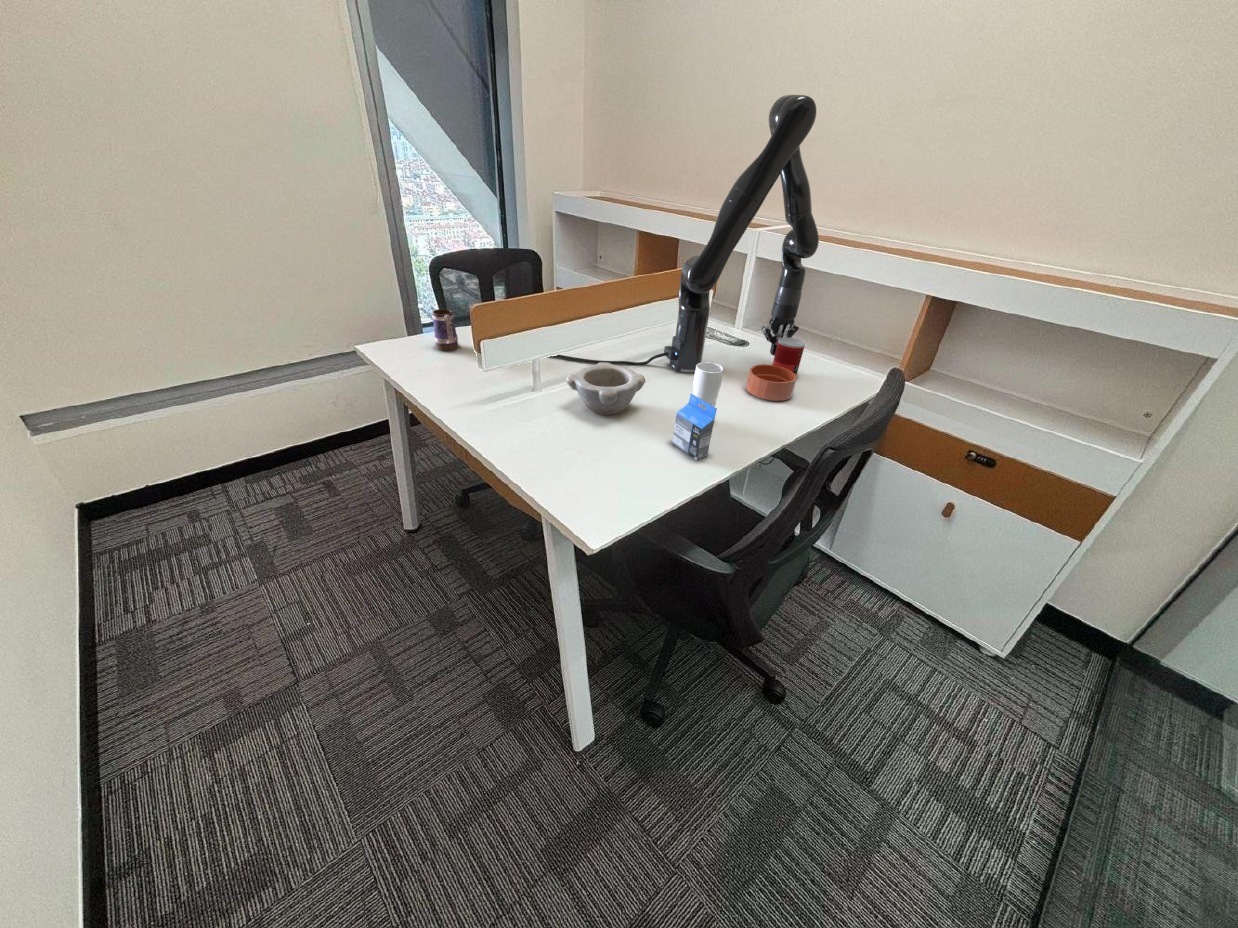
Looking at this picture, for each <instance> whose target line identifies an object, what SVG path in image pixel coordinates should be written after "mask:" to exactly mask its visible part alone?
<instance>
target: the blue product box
mask: <svg viewBox="0 0 1238 928" xmlns="http://www.w3.org/2000/svg"><path fill="white" fill-rule="evenodd" d="M688 399H689V400H688V403H687V404H686V405H684V406H683V407H682V408H681V409H679V410H678V411H676V413H675V419H674V427H673V435H672V442H671V443H672V445H675V446H676V447H677V448H678V449H680V450H682V451H683V452H684V453H686V454H688V455H689V456H690V457H692V459H694V460H696V461H698V460H701V459H704V458H706V457H708V456H709V450H710V445H711V439H712V436H713V435H712V434H713V428H714V424H715V420H716V414H717V410H718V408H716V406H715V407H713V406H711V405H710V404H708V403H706V402H705V401H703V400H701V399H700V398H698V397H696V396H694V395H693V393H690V395H689V398H688ZM698 404H700V405H702V404H703V406H704V407H705V408H706V409H707V410H705V409H703V408H701V407H700V406H698Z"/></svg>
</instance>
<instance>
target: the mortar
mask: <svg viewBox="0 0 1238 928" xmlns="http://www.w3.org/2000/svg"><path fill="white" fill-rule="evenodd" d="M565 382H566V384H567V386H568V387H569V388H570V389H571V390H573V391H576V392H577V394H578V395H579V398H580V400H581V401H582V403H583V404H584V406H585V407H586V408H587V409H588V411H591V412H592V413H595V414H598V415H605V416H610V415H616V414H619V413H621V412H623V411H624V410H625V409H626V408H627V407H628V406H629V405H630V404H631V402H632V401H633V398H634V397H635V396H636V393H638V392H639V391H640V390H641V389H643V387H644V385H645V383H646V378H645V376H644V375H643V374H642V373H637V372H636V371H634V370H632V369H631V368H628V367H626V366H623V365H619V364H610V363H605V362H601V363H595V364H592V365H588V366H585V367H583V368H581V369H579V370H577V371H575V373H569V375H567V376H566V378H565Z"/></svg>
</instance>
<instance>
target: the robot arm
mask: <svg viewBox="0 0 1238 928" xmlns="http://www.w3.org/2000/svg"><path fill="white" fill-rule="evenodd" d="M816 118H817V104H816V101H815V99H813V97H811V96H809V95H805V94H785V95H782V96H780V97H779V98H777V99H776V100H775V101H774V103H773V104H772V106H771V108H770V110H769V114H768V126H769V132H770V135H771V136H770V138H769V140H768V142H767V143H766V145H765V146H764V148H763V149H762V151H761V152H760V154H759V155H758V156H757V157H756V158H755V159H754V160H753V161H752V162H751V164H749V165H748V167H747V168H745V170H743V172H741V174H740V175H739V176H738V177H737V179H736V180H735V182H734V183H733V185H732V187H731V188H730V190H729V191H728V193H727V195H726V197H725V199H724V200H723V201H722V202H723V203H722V205H721V207H720V209H719V211H718V215H717V218H716V220H715V224H714V227H713V230H712V233H711V235H710V238H709V240H708V241H707V243H706V245H705V247H704V249H703V250H702V251H701V253H700V255H699V254H696V255H692V256H691V257H689V258H687V260H686V261H684V264H683V265H682V268H681V272H680V280H679V289H678V290H679V291H678V312H677V321H676V327H675V335H673V336H672V339H671V345H669V346H668V345H666V346H664V348H663V352H661V353H657V354H655V355H653V356H651V357H649V358H648V359H647V360H645V361H639V362H638V361H637V362H635V361H628V360H601V359H600V360H599V359H590V358H589V359H588V358H581V357H575V356H569V355H564V354H558V355H557V356H553V357H552V358H556V359H557V358H559V359H564V360H568V361H576V362H581V363H582V362H583V363H589V364H598V363H601V362H605V363H610V364H613V365H628V366H644V365H648V364H650V363H651V362H653V361H654V360H656V359H658V358H662V357H666V358H667V359H668V360H669V364H668V365H669V367H671V368H672V369H673V370H674V371H675V372H676V373H685V374H695V370H696V365H697V364H699V363H702V362H703V355H704V349H705V343H706V336H707V330H708V325H709V319H710V312H711V305H710V291H711V290H713V289H714V288H715V286H716V285H717V283H718V281H719V279H720V277H721V276H722V273H723V271H724V269H725V267H726V265H727V262H728V260H729V259H730V257H731V255H732V253H733V251H734V250H735V248H736V247H737V245H738V243H739V242H740V240H741V239H742V238H743V236H744V234H745V233H746V231H747V229H748V227H749V226H750V225H751V223H752V221H753V220H754V219H755V217H756V215H757V214H758V212H759V210H760V209H761V207H762V206H763V204H764V202H765V201H766V198H767V197H768V195H769V193H770V192H771V190H772V189H773V187H774V185H775V183H776V182H777V180H778V178H779V177H780V180H781V181H780V182H781V188H782V189H781V190H782V198H783V207H784V208H783V209H784V219H785V221H786V224H788V225H789V226H790V227H791V228H792V229H791V230H789V231H788V232H787V233H786V235H785V236H784V238H783V241H782V246H781V272H780V277H779V281H778V285H777V288H776V291H775V296H774V299H773V304H772V309H771V318H770V319H769V320H768V321H769V322H768V324H767V325H766V326H762V327H761V331H762V333H763V335H764V337H765V339H766V342H769V343H770V344H771V345H770V350H769V353H770V355H771V356H773V357H774V356H775V352H776V348H777V344H778V341H779V339H780V338H793V336H794V335H795V334H796V333H797V332H798V331H799V329H800V327H799V326H797V325H796V324H795V319H796V317H797V315H798V310H799V306H800V301H801V298H802V293H803V287H804V283H805V279H806V275H807V269H806V267H805V266H804V265H803V263H802V259H809V258H811V257H813V256H814V255H815V253H816V252H817V250H818V248H819V243H820V236H819V232H818V228H817V224H816V221H815V218H814V215H813V212H812V211H813V210H812V209H813V207H812V193H811V184H810V180H809V178H808V175H807V172H806V168H805V166H804V161H803V157H802V154H801V145H802V144H803V142H804V141H805V139H806V138H807V136H808V135H809V133H810V132H811V130H812V129H813V126H814V124H815V121H816Z"/></svg>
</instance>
